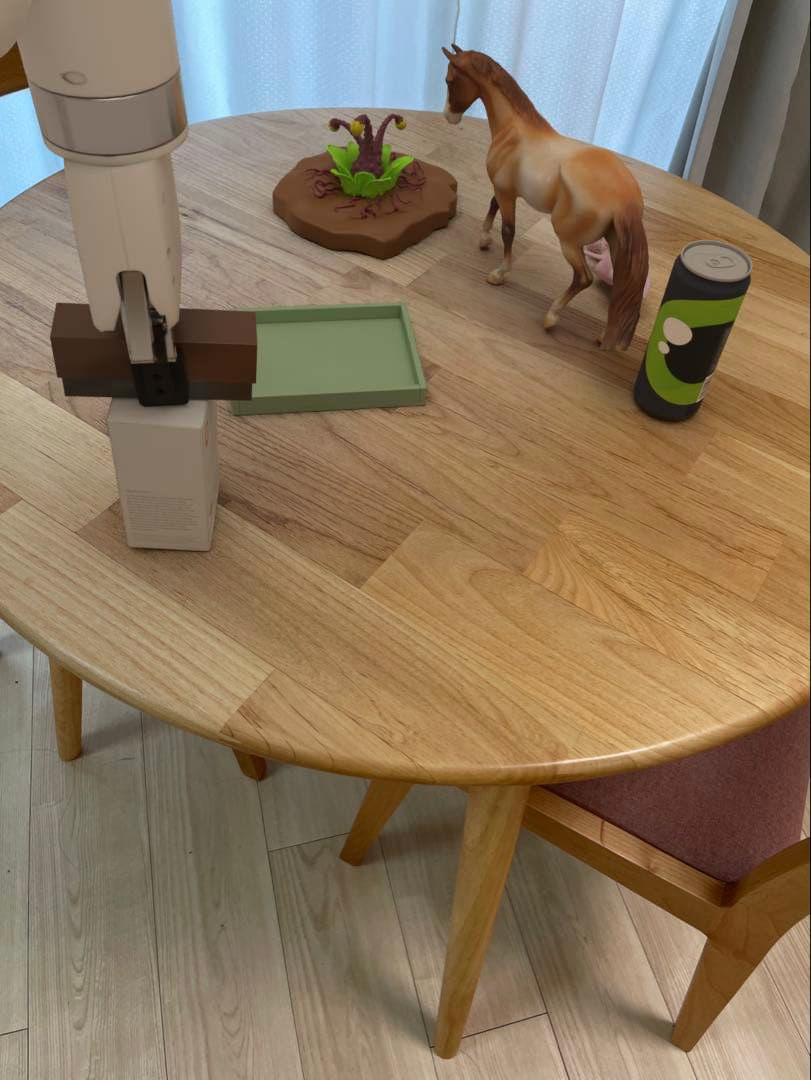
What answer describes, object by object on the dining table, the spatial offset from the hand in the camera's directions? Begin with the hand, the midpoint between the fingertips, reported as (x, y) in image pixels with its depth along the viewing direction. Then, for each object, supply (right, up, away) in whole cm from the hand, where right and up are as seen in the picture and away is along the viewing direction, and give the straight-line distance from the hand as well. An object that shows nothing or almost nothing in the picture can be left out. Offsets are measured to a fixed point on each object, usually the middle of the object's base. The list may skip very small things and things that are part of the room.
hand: (165, 379), depth 59 cm
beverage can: (+40, +2, +23) cm, 46 cm away
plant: (+11, +27, +42) cm, 52 cm away
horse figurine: (+27, +12, +31) cm, 43 cm away
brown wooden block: (0, 0, 0) cm, 0 cm away
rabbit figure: (+38, +17, +35) cm, 55 cm away
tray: (+9, +6, +23) cm, 26 cm away
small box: (-2, -9, +10) cm, 14 cm away
